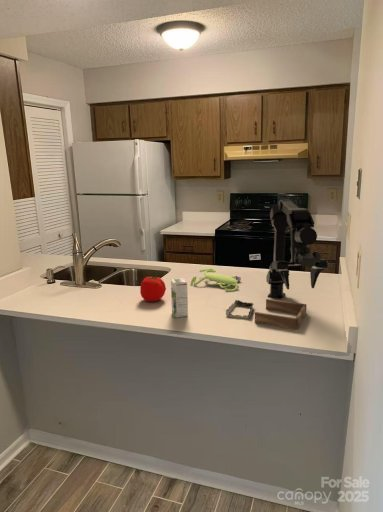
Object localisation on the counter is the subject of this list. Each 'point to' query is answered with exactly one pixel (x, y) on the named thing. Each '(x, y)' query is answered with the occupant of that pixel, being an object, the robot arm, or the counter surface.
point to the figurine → (218, 279)
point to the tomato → (152, 289)
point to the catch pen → (282, 320)
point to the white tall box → (179, 297)
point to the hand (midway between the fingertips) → (300, 288)
